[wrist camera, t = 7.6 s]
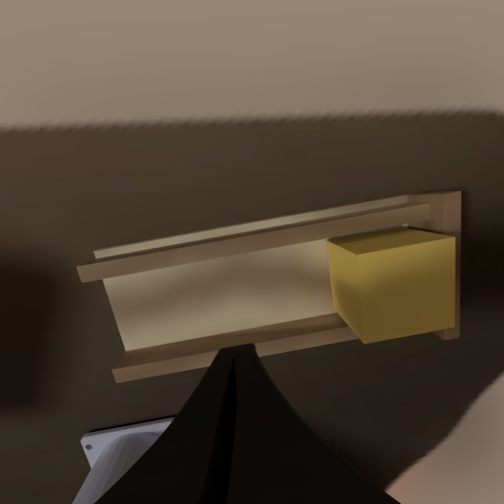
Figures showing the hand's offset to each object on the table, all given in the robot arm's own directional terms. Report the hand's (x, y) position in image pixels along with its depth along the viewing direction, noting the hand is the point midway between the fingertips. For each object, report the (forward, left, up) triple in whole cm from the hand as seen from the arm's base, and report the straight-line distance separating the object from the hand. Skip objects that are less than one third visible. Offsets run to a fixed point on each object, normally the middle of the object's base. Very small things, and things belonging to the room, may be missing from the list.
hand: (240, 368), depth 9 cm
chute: (0, -2, -9) cm, 9 cm away
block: (0, -9, -8) cm, 12 cm away
